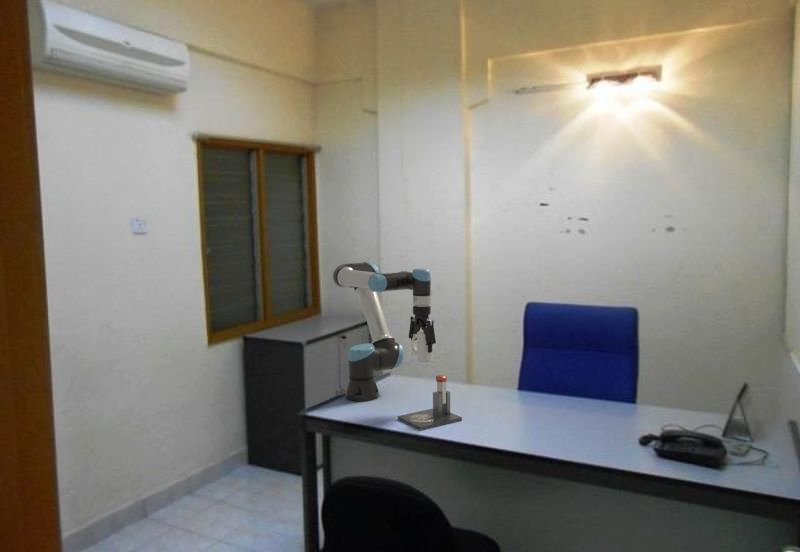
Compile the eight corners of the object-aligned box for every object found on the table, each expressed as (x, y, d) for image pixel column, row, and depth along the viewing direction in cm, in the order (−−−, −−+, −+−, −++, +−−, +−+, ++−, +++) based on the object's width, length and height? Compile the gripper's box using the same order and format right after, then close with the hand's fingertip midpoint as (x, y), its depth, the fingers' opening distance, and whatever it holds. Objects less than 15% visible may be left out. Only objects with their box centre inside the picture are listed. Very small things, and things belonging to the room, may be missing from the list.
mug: (435, 360, 256) (435, 332, 255) (427, 363, 251) (427, 334, 250) (416, 357, 262) (416, 329, 261) (407, 360, 257) (407, 332, 256)
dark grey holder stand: (397, 419, 242) (397, 394, 241) (437, 410, 252) (437, 386, 252) (420, 430, 228) (420, 404, 227) (461, 420, 239) (461, 395, 238)
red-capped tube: (434, 402, 244) (433, 376, 243) (442, 400, 246) (442, 374, 245) (440, 404, 240) (440, 378, 239) (449, 402, 242) (449, 376, 241)
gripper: (400, 303, 261) (400, 353, 264) (429, 309, 243) (429, 363, 245) (414, 301, 265) (414, 351, 268) (444, 307, 247) (444, 361, 249)
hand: (421, 357), depth 256 cm, fingers closed on mug, 9 cm apart
